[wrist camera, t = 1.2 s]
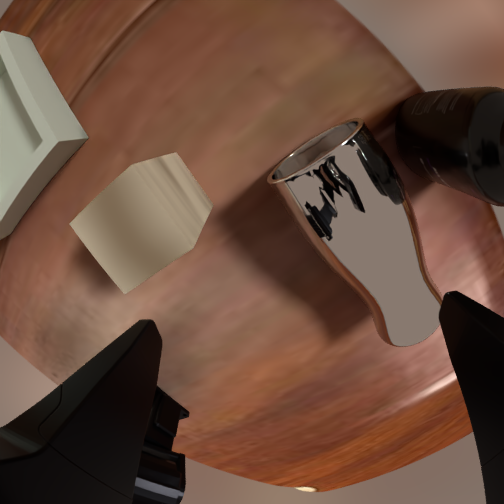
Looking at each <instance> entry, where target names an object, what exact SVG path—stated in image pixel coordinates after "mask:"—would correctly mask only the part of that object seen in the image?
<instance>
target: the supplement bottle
mask: <svg viewBox="0 0 504 504" xmlns="http://www.w3.org/2000/svg"><path fill="white" fill-rule="evenodd" d="M395 135H396V142H397V146H398V149H399V152H400V154H401V156H402V158H403V160H404V161H405V163H406V164H407V166H408V167H409V168H410V169H411V170H412V171H413V172H415V173H416V174H418V175H419V176H421V177H423V178H426V179H429V180H431V181H434V182H437V183H439V184H442V185H445V186H448V187H450V188H453V189H455V190H458V191H461V192H463V193H466V194H468V195H471V196H473V197H475V198H478V199H480V200H482V201H485V202H487V203H490V204H493V205H496V206H504V89H502V88H498V87H471V88H457V89H447V90H437V91H428V92H422V93H418V94H415V95H413V96H411V97H410V98H409V99H407V100H406V101H405V102H404V104H403V105H402V107H401V108H400V110H399V113H398V116H397V119H396V126H395Z"/></svg>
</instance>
